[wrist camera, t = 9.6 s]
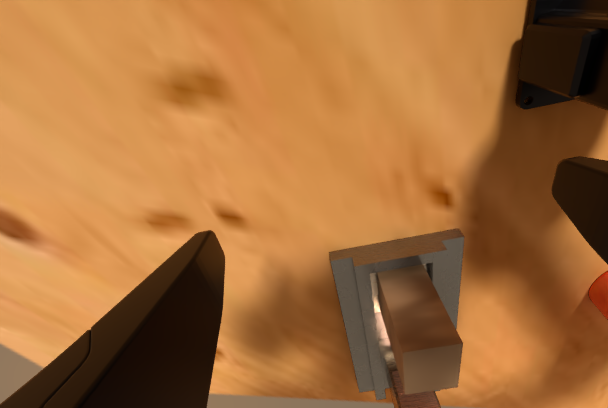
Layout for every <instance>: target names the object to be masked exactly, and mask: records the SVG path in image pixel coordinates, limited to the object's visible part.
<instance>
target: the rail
mask: <svg viewBox="0 0 608 408" xmlns="http://www.w3.org/2000/svg"><path fill="white" fill-rule="evenodd" d="M463 247H464V236H463V234H462V233H461V231H460V230H459V229H453V230H447V231H442V232H437V233H431V234H426V235H420V236H415V237H409V238H404V239H399V240H393V241H388V242H382V243H377V244H371V245H366V246H360V247H355V248H350V249H344V250H339V251H333V252H329V255H330V261H331V266H332V270H333V275H334V279H335V284H336V288H337V293H338V297H339V302H340V306H341V311H342V315H343V320H344V324H345V329H346V333H347V338H348V342H349V347H350V352H351V356H352V361H353V365H354V370H355V374H356V379H357V383H358V388H359V392H366V391H373V390H375V395H376V399H377V400H380V399H386V395H385V389H386V388H390V392H391V396H392V400H393V404H394V408H441V407H440V404H439V401H438V399H437V396H436V393H435V391H440V390H434V391H427V392H420V393H413V394H406V395H405V393H404V389H403V386H402V383H401V379H400V376H399V372H398V369H397V366H396V362H395V359H394V355H393V352H392V348H391V345H390V342H389V338H388V335H387V331H386V328H385V325H384V321H383V318H382V314H381V311H380V304H379V296H378V287H377V278H376V272H382V271H387V270H393V269H399V268H404V267H410V266H416V265H421V264H423V265H424V267H425V269H426V271H427V273H428V275H429V277H430V279H431V281H432V283H433V285H434V287H435V289H436V291H437V293H438V295H439V297H440V299H441V301H442V303H443V305H444V307H445V309H446V311H447V313H448V315H449V317H450V319H451V321H452V323H453V325H454V327H455V329H456V327H457V315H458V304H459V292H460V281H461V270H462V258H463Z"/></svg>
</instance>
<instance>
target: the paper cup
mask: <svg viewBox="0 0 608 408" xmlns="http://www.w3.org/2000/svg"><path fill="white" fill-rule="evenodd" d="M589 297H590V299H591V300H592V302H593V303H594V304H595V306H596V307H597V308H598V309H599V310H600V311H601V313H602V314H603V315H604V316H605V317H606V318H607V320H608V271H607V272H605V273H604V274H602V275H601V276H600V277H599V278H598V279H597V280H596V281H595V282H594V283H593V284H592V286H591V287H590V290H589Z"/></svg>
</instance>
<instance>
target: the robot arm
mask: <svg viewBox="0 0 608 408" xmlns="http://www.w3.org/2000/svg"><path fill="white" fill-rule="evenodd" d="M518 78H519V83H518V89H517V96H516V105H517V106H518V107H520V108H522V109H531V108H535V107H540V106H545V105H550V104H555V103H559V102H564V101H569V100H574V99H577V100H579V101H582V102H585V103H588V104H591V105H594V106H597V107H599V108H602V109H605V110H608V0H531V5H530V12H529V18H528V25H527V28H526V30H525V33H524V40H523V46H522V53H521V60H520V66H519V73H518ZM527 97H529V99H528V101H527V102H526V103H524V101H525V99H526V98H527ZM552 195H553V197H554V199H555V200H556V201H557V203H558V204H559V205H560V207H561V208H562V209H563V211H564V212H565V213H566V215H567V216H568V217H569V219H570V220H571V221H572V223H573V224H574V225H575V227H576V228H577V229H578V231H579V232H580V233H581V235H582V236H583V237H584V238H585V240H586V241H587V242H588V243H589V245H590V246H591V247H592V248H593V249H594V250H595V251H596V253H597V254H598V255H599V256H600V257H601V258H602V259H603V260H604V261H605V262H606V263H607V264H608V161H605V160H599V159H593V158H587V157H574V158H569V159H564V160H562V161H560V162H559V164H558V165H557V169H556V173H555V177H554V181H553V185H552ZM224 274H225V255H224V252H223V250H222V248H221V246H220V243H219V241H218V239H217V237H216V235H215V233H214V232H213V231H211V230H208V231H203V232H198V233H196V234H195V235H194V236H193V237H192V238H191V239H190V240H188V241H187V242H186V243H185V244H184V245H183V246H182V247H181V248H179V249H178V250H177V251H176V252H175V253H174V254H173V255H172V256H171V257H169V258H168V259H167V260H166V261H165V262H164V263H163V264H162V265H160V266H159V267H158V268H157V269H156V270H155V271H154V272H153V273H151V274H150V275H149V276H148V277H147V278H146V279H145V280H144V281H143V282H141V283H140V284H139V285H138V286H137V287H136V288H135V289H134V290H132V291H131V292H130V293H129V294H128V295H127V296H126V297H125V298H123V299H122V300H121V301H120V302H119V303H118V304H117V305H116V306H114V307H113V308H112V309H111V310H110V311H109V312H108V313H107V314H106V315H104V316H103V317H102V318H101V319H100V320H99V321H98V322H97V323H95V324H94V325H93V326H92V327H91V330H87V331H86V332H85V333H84V334H83V335H82V336H81V337H80V338H79V339H77V340H76V341H75V342H74V343H73V344H72V345H71V346H70V347H68V348H67V349H66V350H65V351H64V352H63V353H61V354H60V355H59V356H58V357H57V358H56V359H55V360H53V361H52V362H51V363H50V364H49V365H48V366H46V367H45V368H44V369H43V370H41V371H40V372H39V373H38V374H37V375H35V376H34V377H33V378H32V379H30V380H29V381H28V382H27V383H26V384H25V385H23V386H22V387H21V388H20V389H18V390H17V391H16V392H15V393H13V394H12V395H11V396H10V397H8V398H7V399H6V400H5V401H3V402H2V403H1V404H0V408H207V401H208V395H209V390H210V384H211V378H212V372H213V366H214V360H215V354H216V348H217V342H218V336H219V330H220V324H221V318H222V310H223V295H224Z"/></svg>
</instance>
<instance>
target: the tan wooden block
mask: <svg viewBox="0 0 608 408" xmlns="http://www.w3.org/2000/svg"><path fill="white" fill-rule="evenodd" d="M376 278H377V287H378V296H379V304H380V311H381V314H382V318H383V321H384V325H385V328H386V331H387V335H388V338H389V342H390V345H391V348H392V352H393V355H394V359H395V362H396V366H397V369H398V372H399V376H400V379H401V383H402V386H403V389H404V393H405V395H406V394H413V393H420V392H427V391H434V390H441V389H448V388H455V387H458V381H459V373H460V364H461V355H462V347H463V343H462V341H461V339H460V337H459V335H458V333H457V331H456V329H455V327H454V325H453V323H452V321H451V319H450V317H449V315H448V313H447V311H446V309H445V307H444V305H443V303H442V301H441V299H440V297H439V295H438V293H437V291H436V289H435V287H434V285H433V283H432V281H431V279H430V277H429V275H428V273H427V271H426V269H425V267H424V265H423V264H421V265H416V266H410V267H404V268H399V269H393V270H387V271H382V272H376Z"/></svg>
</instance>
